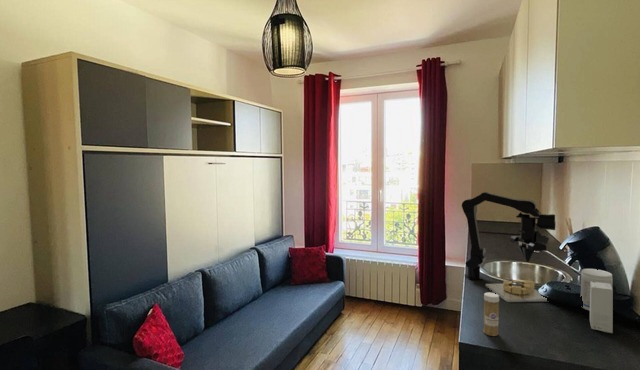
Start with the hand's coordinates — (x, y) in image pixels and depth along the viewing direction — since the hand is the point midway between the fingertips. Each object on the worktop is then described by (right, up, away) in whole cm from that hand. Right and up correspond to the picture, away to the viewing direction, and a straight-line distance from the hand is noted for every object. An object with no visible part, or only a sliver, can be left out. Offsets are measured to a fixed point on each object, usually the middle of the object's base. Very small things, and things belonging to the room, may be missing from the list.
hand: (527, 261), depth 155 cm
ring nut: (-7, -11, -6) cm, 14 cm away
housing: (-9, -13, -6) cm, 17 cm away
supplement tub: (+13, -14, -23) cm, 30 cm away
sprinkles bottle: (-37, -15, -41) cm, 57 cm away
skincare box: (+3, -15, -37) cm, 40 cm away
